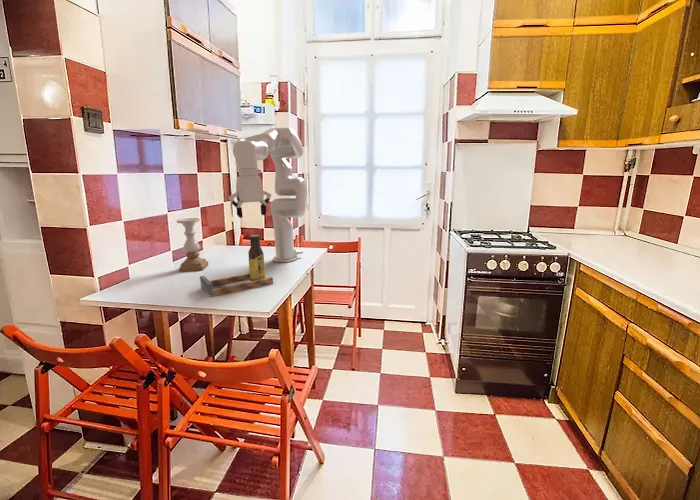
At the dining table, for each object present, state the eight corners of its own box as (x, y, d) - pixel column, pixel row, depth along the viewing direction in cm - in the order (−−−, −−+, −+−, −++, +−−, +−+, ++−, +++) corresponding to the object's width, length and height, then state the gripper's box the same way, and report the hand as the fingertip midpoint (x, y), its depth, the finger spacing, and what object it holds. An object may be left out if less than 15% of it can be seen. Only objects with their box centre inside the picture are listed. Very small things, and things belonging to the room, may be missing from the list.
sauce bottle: (261, 284, 152) (257, 237, 147) (247, 283, 153) (243, 237, 148) (268, 279, 158) (264, 234, 153) (254, 279, 159) (250, 234, 155)
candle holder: (208, 264, 185) (203, 217, 180) (202, 270, 174) (196, 220, 169) (186, 265, 184) (179, 218, 178) (178, 271, 173) (172, 221, 168)
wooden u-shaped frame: (261, 276, 163) (260, 265, 162) (273, 283, 152) (272, 272, 151) (201, 288, 149) (199, 276, 148) (209, 297, 138) (208, 284, 137)
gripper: (265, 172, 153) (268, 213, 157) (223, 174, 143) (228, 217, 147) (272, 172, 147) (275, 215, 151) (229, 174, 137) (233, 219, 141)
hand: (252, 216), depth 149 cm, fingers open, 9 cm apart
